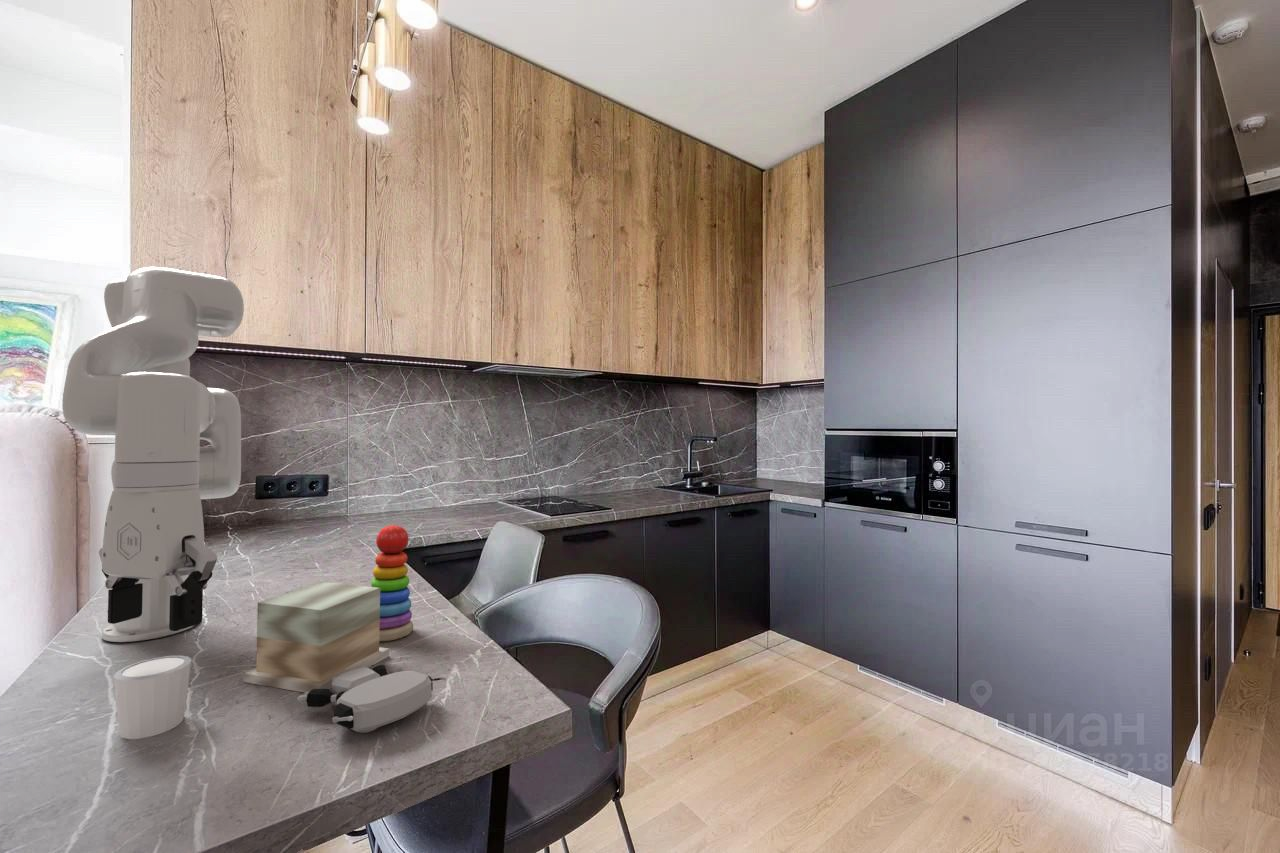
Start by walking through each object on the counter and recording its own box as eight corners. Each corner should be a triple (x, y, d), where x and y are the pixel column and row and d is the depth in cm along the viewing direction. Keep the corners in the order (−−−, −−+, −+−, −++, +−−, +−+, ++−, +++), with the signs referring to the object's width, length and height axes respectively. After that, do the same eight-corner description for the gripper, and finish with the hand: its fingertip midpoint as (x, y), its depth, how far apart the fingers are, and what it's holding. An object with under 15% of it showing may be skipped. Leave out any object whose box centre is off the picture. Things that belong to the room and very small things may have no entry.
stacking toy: (393, 645, 89) (395, 530, 89) (351, 641, 90) (353, 528, 91) (422, 628, 96) (424, 522, 97) (382, 624, 98) (384, 520, 98)
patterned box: (243, 681, 75) (245, 603, 75) (321, 646, 88) (322, 579, 88) (319, 695, 72) (321, 613, 72) (389, 656, 84) (390, 586, 85)
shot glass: (202, 718, 66) (203, 660, 66) (130, 748, 60) (132, 684, 60) (171, 706, 69) (173, 650, 69) (99, 733, 62) (101, 672, 62)
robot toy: (289, 723, 67) (354, 756, 59) (288, 685, 67) (353, 712, 59) (384, 685, 77) (451, 708, 69) (383, 652, 77) (449, 672, 69)
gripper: (67, 478, 63) (63, 627, 62) (178, 481, 58) (174, 642, 58) (141, 474, 70) (138, 608, 70) (245, 476, 66) (242, 619, 65)
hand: (155, 623), depth 64 cm, fingers open, 9 cm apart
